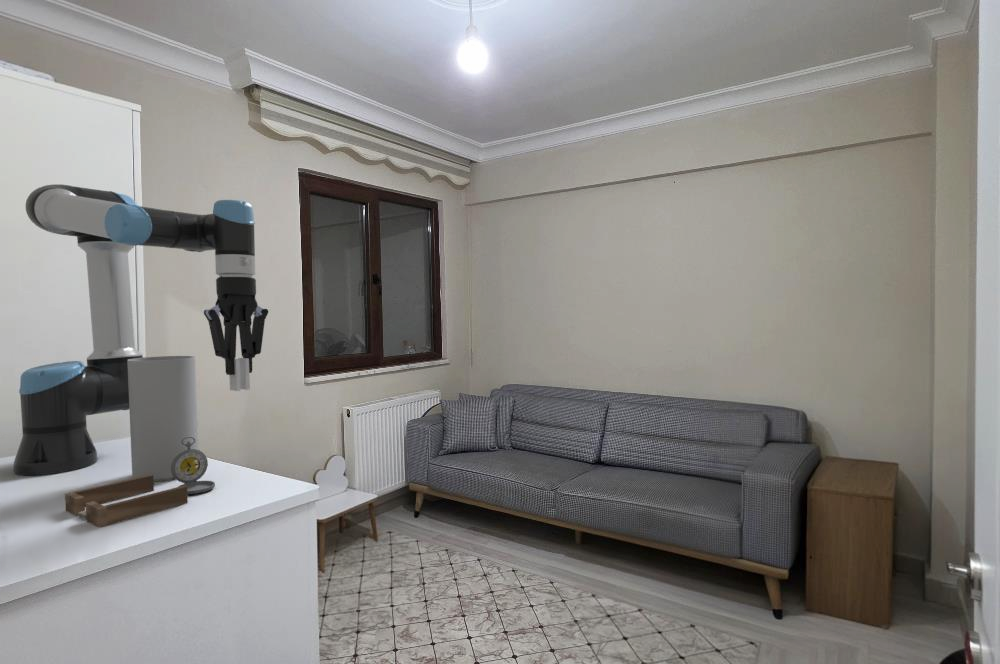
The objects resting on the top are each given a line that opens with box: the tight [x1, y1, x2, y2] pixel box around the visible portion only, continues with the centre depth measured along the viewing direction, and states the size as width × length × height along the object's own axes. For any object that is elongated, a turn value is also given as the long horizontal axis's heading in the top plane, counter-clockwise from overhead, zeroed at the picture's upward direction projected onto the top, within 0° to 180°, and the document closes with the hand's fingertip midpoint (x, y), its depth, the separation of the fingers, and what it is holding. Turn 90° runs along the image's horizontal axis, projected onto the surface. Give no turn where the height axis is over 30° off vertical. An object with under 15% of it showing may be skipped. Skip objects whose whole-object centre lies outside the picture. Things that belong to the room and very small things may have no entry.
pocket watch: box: [171, 437, 216, 495], centre depth 115 cm, size 8×8×10 cm
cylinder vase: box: [127, 355, 199, 482], centre depth 126 cm, size 12×12×25 cm
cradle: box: [64, 474, 189, 528], centre depth 105 cm, size 14×14×3 cm
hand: (239, 389), depth 123 cm, fingers closed
